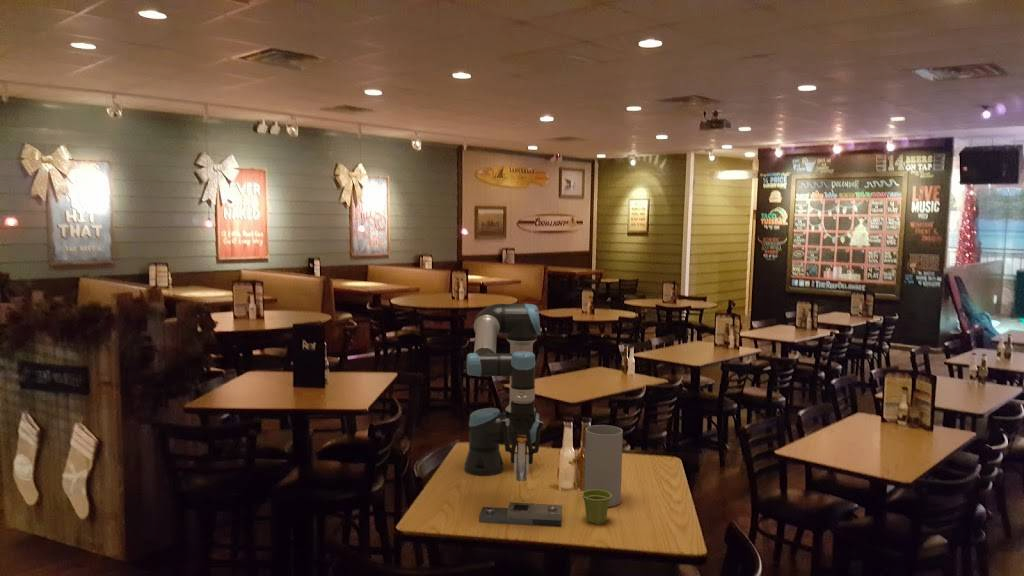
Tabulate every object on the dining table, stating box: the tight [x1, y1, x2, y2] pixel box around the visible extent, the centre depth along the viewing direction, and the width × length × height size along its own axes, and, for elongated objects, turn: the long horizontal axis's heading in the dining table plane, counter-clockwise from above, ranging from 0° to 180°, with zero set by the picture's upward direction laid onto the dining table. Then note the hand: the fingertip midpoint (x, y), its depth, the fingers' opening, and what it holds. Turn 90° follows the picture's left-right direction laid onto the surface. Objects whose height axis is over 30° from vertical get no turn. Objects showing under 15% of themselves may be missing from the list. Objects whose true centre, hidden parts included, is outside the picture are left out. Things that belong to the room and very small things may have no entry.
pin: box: [516, 435, 528, 482], centre depth 235 cm, size 4×4×14 cm
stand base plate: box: [478, 501, 563, 528], centre depth 237 cm, size 26×8×5 cm, turn 84°
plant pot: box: [581, 490, 612, 525], centre depth 237 cm, size 9×9×9 cm
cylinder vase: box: [583, 424, 624, 508], centre depth 253 cm, size 12×12×25 cm
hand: (521, 473), depth 236 cm, fingers closed on pin, 3 cm apart
